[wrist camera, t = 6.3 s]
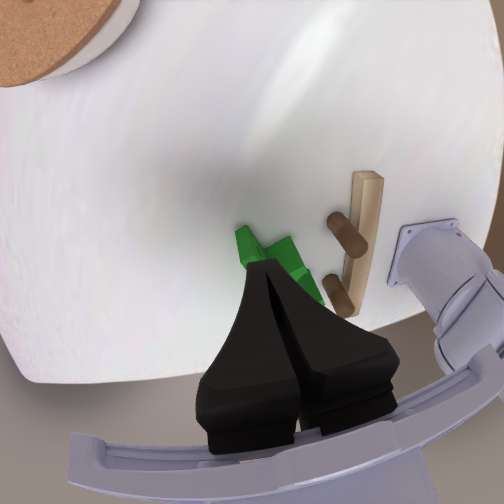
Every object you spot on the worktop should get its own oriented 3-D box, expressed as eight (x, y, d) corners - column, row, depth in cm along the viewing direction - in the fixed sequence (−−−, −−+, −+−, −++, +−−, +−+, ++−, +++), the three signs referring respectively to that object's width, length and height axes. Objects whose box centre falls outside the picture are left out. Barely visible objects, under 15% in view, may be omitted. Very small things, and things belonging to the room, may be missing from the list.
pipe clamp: (319, 290, 28) (334, 322, 24) (288, 305, 29) (299, 339, 25) (274, 208, 22) (288, 237, 18) (234, 230, 23) (240, 263, 19)
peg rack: (373, 171, 21) (403, 191, 17) (352, 304, 30) (367, 332, 26) (328, 173, 21) (353, 195, 17) (318, 311, 30) (331, 342, 26)
